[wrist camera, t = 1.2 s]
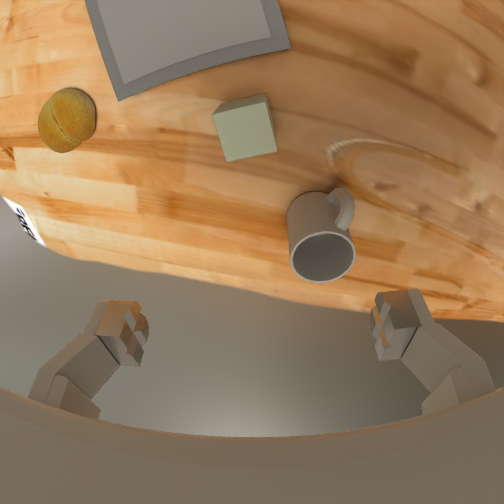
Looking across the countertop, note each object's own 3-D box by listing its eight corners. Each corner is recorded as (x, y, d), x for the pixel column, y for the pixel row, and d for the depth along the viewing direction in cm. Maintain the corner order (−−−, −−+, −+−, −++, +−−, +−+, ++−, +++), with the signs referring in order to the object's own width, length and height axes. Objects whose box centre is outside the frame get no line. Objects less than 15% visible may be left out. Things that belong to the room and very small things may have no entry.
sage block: (265, 92, 28) (265, 102, 24) (275, 134, 31) (277, 151, 27) (221, 103, 29) (211, 115, 25) (233, 143, 32) (226, 162, 28)
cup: (276, 223, 39) (277, 269, 32) (316, 162, 33) (330, 198, 26) (321, 244, 41) (330, 290, 34) (363, 189, 35) (385, 229, 28)
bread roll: (108, 124, 31) (93, 134, 28) (65, 155, 33) (49, 167, 30) (80, 73, 26) (62, 78, 23) (39, 110, 29) (21, 119, 26)
